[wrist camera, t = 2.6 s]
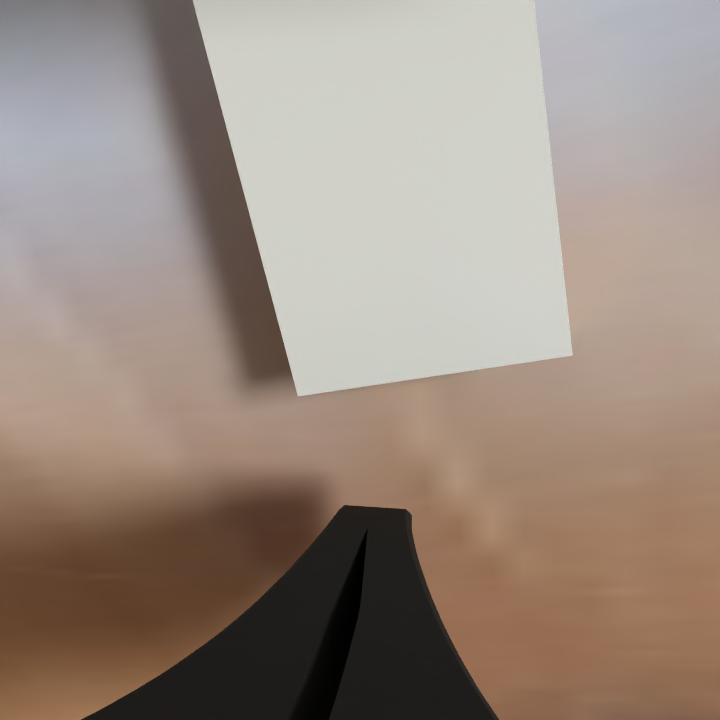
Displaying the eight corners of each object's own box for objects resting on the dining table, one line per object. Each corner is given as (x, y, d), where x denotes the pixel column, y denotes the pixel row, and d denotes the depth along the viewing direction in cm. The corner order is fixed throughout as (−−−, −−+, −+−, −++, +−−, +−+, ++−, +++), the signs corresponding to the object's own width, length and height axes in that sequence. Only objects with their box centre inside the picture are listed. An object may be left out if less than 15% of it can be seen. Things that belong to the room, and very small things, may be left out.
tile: (551, 321, 12) (572, 355, 10) (321, 358, 13) (298, 396, 11) (488, -210, 9) (499, -315, 7) (206, -110, 10) (145, -177, 8)
